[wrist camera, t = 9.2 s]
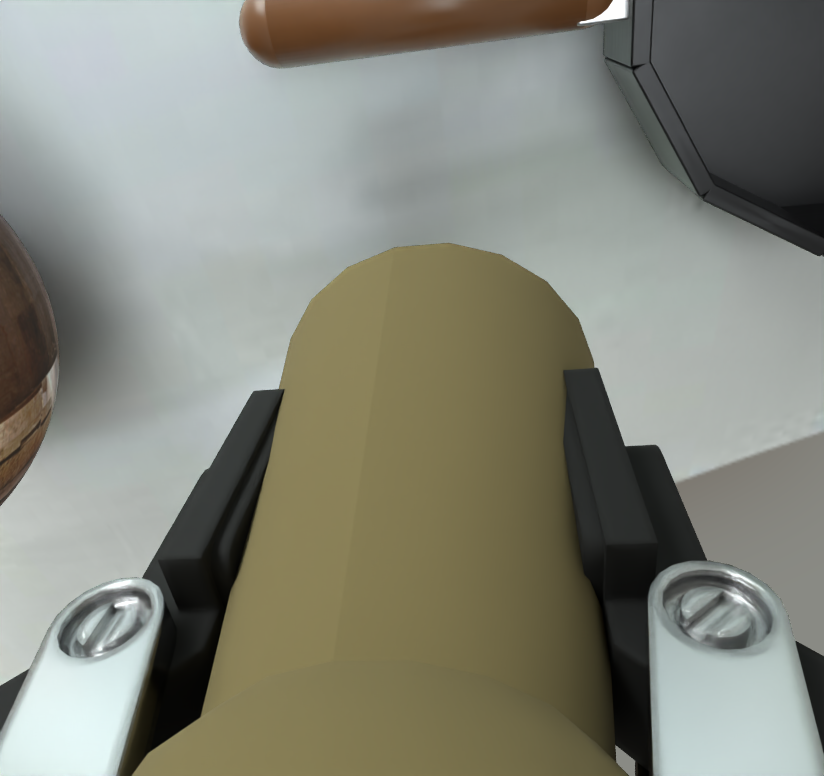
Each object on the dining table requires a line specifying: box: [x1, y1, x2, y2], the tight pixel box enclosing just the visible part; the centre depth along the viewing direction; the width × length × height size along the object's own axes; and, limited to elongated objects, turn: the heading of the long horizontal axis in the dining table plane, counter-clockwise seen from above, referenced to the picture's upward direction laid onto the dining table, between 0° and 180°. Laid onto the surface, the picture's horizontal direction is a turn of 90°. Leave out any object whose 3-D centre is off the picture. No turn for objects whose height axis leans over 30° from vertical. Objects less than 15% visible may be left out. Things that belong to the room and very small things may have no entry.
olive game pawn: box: [132, 243, 629, 776], centre depth 8 cm, size 6×6×11 cm
